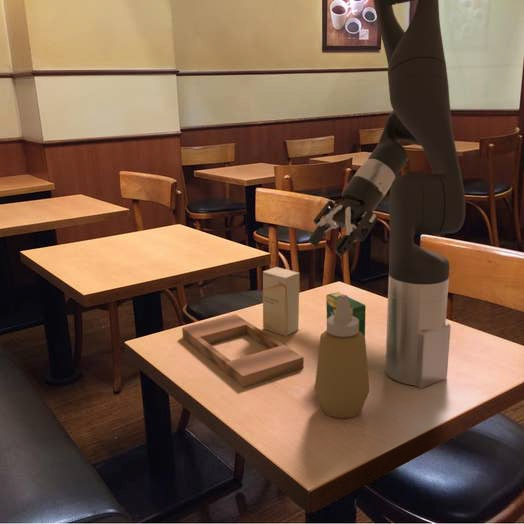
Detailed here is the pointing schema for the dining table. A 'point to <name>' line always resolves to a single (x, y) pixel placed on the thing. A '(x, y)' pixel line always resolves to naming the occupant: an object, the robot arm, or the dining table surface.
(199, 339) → the wooden frame
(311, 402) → the dining table surface
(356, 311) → the coffee box
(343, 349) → the squeeze bottle
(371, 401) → the dining table surface
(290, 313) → the skincare box
